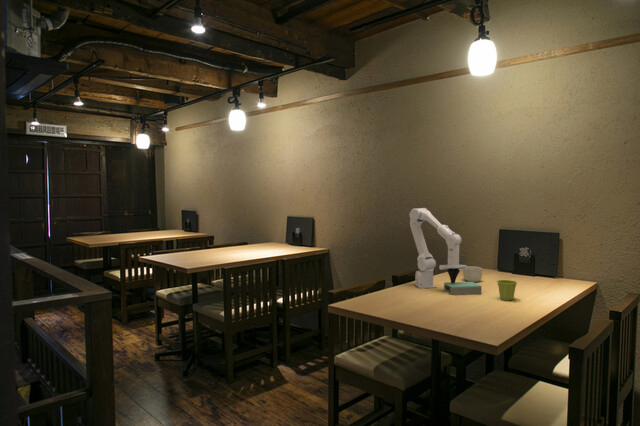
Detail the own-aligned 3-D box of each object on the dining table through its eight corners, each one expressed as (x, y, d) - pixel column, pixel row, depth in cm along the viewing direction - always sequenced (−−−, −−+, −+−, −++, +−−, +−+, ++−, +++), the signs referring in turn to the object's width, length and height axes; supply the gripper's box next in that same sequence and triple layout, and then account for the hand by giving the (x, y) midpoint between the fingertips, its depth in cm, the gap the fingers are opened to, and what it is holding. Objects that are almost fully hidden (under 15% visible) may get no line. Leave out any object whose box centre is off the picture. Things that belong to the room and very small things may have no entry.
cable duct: (451, 295, 218) (451, 288, 218) (443, 290, 228) (444, 283, 228) (481, 294, 220) (481, 287, 220) (472, 289, 230) (472, 283, 230)
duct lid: (451, 288, 218) (451, 286, 218) (444, 283, 228) (444, 282, 228) (481, 287, 220) (481, 285, 220) (472, 283, 230) (472, 281, 230)
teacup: (484, 283, 246) (485, 269, 245) (465, 283, 246) (466, 269, 245) (476, 278, 260) (476, 265, 259) (458, 278, 260) (458, 265, 259)
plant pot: (495, 300, 209) (495, 282, 208) (497, 295, 217) (497, 278, 217) (516, 302, 204) (516, 284, 204) (517, 297, 213) (517, 280, 212)
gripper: (443, 258, 220) (442, 284, 220) (470, 258, 221) (469, 284, 222) (437, 256, 227) (437, 281, 227) (463, 256, 228) (463, 281, 229)
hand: (452, 282), depth 225 cm, fingers closed
